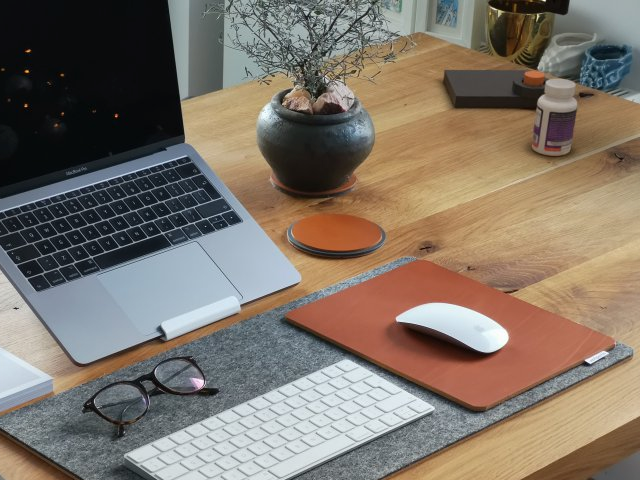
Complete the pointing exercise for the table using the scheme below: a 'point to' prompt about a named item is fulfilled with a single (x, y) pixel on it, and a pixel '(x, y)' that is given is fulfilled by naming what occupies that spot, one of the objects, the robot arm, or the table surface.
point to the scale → (491, 89)
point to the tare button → (533, 78)
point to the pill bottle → (555, 118)
